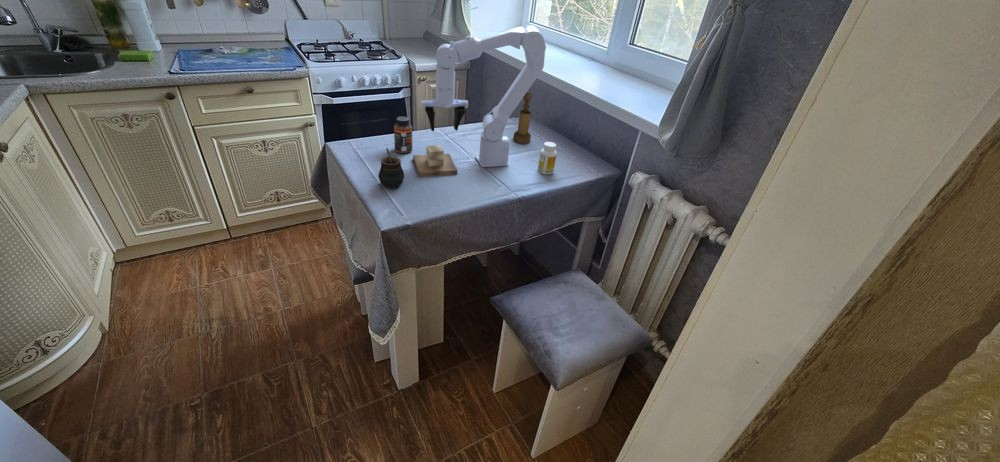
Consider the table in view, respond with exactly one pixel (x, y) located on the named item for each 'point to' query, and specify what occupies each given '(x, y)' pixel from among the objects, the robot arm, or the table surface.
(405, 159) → the table surface
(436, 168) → the light brown wooden block
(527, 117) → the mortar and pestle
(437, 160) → the maple cube
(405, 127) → the supplement bottle
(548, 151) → the supplement bottle
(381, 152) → the table surface
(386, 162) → the mate gourd
